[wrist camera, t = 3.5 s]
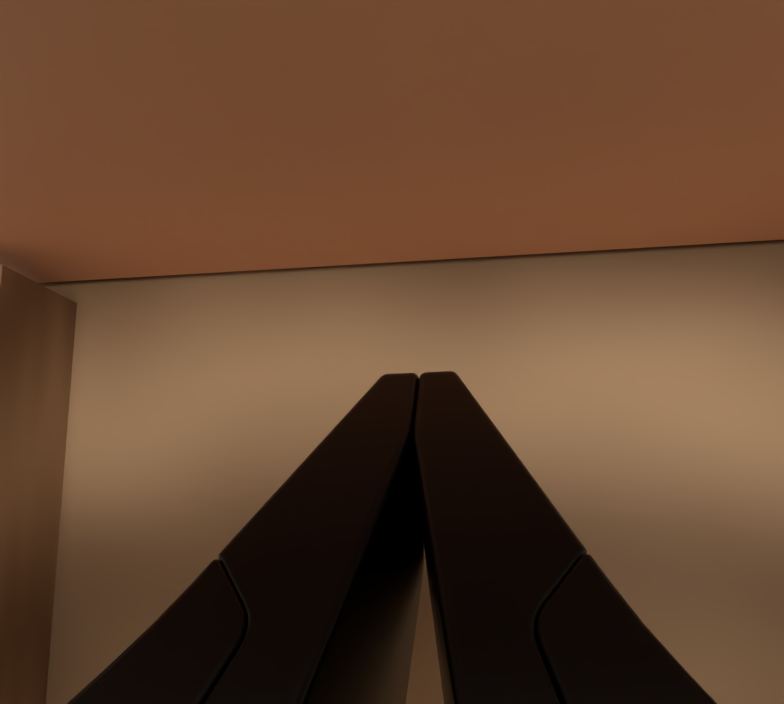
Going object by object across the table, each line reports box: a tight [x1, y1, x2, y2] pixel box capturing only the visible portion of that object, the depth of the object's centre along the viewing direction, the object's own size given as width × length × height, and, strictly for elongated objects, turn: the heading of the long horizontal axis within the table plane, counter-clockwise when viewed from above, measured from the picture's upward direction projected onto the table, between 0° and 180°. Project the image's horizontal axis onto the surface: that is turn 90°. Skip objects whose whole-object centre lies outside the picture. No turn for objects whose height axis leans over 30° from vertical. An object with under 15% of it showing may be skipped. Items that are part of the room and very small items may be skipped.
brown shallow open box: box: [0, 240, 784, 704], centre depth 13 cm, size 16×18×6 cm
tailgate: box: [0, 0, 784, 283], centre depth 10 cm, size 2×18×9 cm, turn 91°
